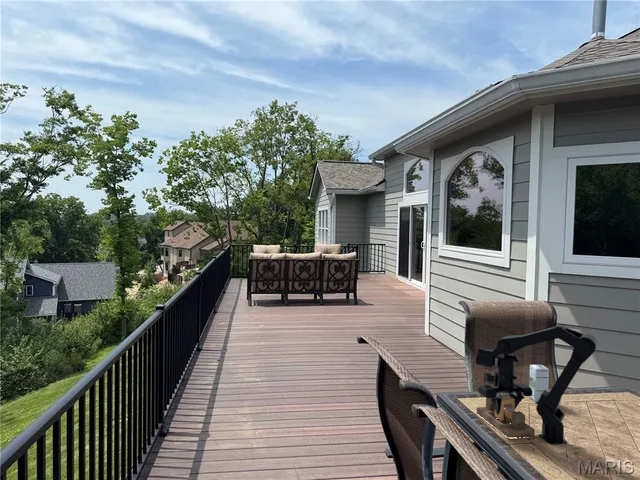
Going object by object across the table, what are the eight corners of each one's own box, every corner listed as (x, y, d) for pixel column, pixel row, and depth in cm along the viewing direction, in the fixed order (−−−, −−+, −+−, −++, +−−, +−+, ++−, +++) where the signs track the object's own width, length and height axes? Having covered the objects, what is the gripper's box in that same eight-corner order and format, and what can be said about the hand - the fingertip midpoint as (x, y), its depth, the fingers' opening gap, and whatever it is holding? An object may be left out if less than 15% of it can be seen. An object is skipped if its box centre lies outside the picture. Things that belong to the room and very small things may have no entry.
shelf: (534, 438, 149) (535, 415, 149) (508, 439, 147) (509, 416, 147) (499, 413, 169) (500, 393, 168) (476, 415, 167) (477, 394, 167)
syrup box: (548, 403, 181) (549, 368, 181) (534, 402, 181) (535, 368, 181) (541, 397, 187) (543, 364, 187) (528, 397, 187) (529, 364, 187)
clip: (514, 419, 156) (514, 399, 156) (501, 420, 155) (501, 400, 155) (507, 415, 160) (507, 395, 160) (494, 416, 159) (495, 395, 159)
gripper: (514, 364, 167) (513, 403, 167) (470, 365, 164) (469, 406, 164) (534, 373, 156) (532, 416, 157) (487, 375, 153) (486, 418, 153)
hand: (504, 413), depth 158 cm, fingers closed on clip, 5 cm apart
